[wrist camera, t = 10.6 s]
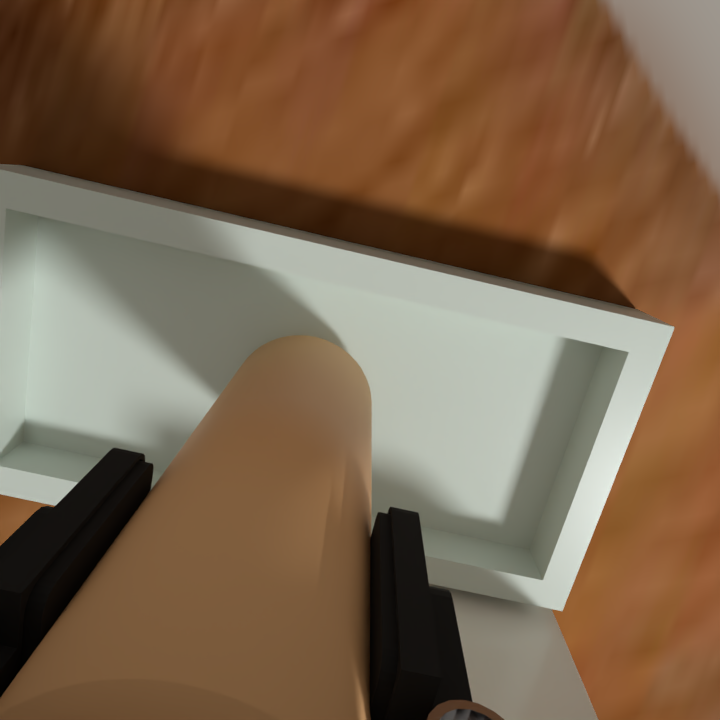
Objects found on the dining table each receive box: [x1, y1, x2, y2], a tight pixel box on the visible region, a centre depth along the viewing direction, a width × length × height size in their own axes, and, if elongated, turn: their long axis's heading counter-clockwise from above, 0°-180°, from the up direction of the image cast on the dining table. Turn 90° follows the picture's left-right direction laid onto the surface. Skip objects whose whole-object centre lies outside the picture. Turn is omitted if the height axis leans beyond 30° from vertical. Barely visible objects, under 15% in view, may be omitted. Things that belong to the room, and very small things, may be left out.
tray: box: [0, 164, 675, 611], centre depth 19 cm, size 20×10×2 cm, turn 77°
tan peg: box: [0, 335, 372, 720], centre depth 12 cm, size 4×4×13 cm
